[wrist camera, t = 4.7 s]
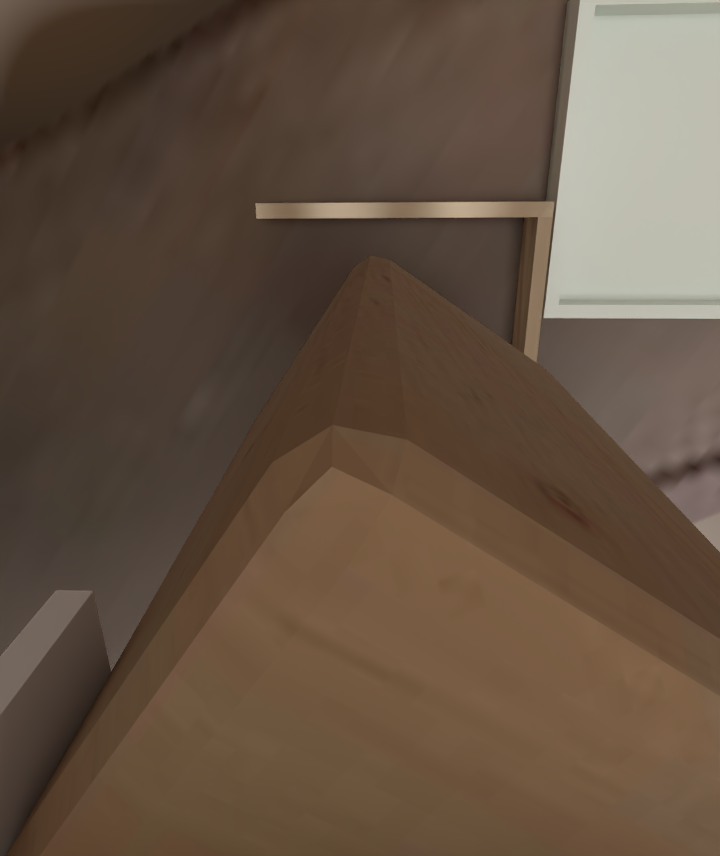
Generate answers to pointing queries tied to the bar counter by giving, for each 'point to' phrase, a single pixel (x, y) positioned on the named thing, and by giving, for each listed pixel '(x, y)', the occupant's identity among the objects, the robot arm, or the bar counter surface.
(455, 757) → the wooden block
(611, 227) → the tray
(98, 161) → the bar counter surface
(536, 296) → the bay
